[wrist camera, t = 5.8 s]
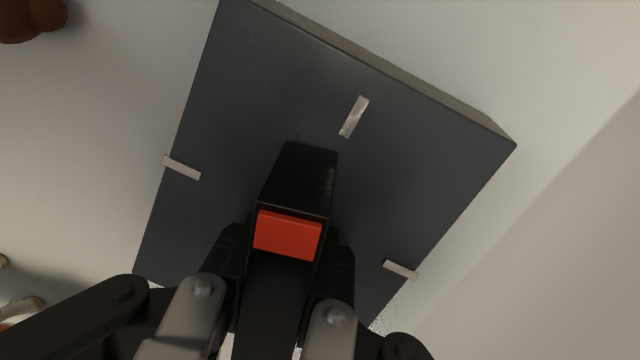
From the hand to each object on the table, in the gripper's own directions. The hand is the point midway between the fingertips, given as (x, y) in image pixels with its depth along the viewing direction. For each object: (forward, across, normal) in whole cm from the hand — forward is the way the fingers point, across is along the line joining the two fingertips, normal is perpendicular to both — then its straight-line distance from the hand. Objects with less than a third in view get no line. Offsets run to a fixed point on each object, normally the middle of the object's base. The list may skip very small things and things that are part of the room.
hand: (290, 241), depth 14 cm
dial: (0, 0, -1) cm, 1 cm away
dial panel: (+3, 0, -1) cm, 3 cm away
